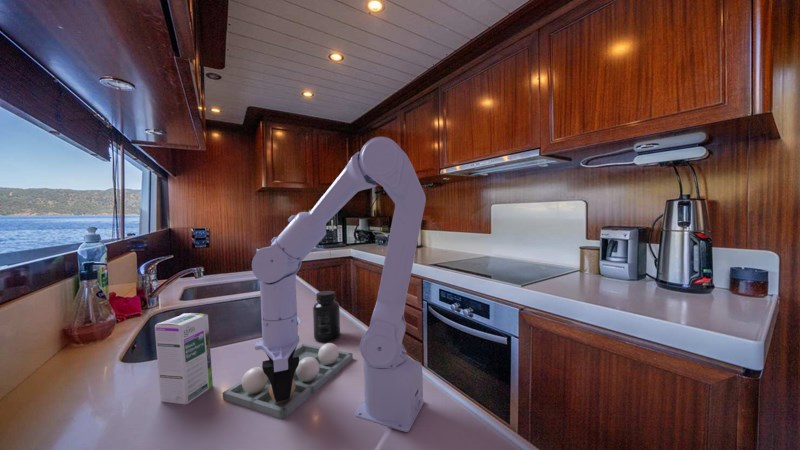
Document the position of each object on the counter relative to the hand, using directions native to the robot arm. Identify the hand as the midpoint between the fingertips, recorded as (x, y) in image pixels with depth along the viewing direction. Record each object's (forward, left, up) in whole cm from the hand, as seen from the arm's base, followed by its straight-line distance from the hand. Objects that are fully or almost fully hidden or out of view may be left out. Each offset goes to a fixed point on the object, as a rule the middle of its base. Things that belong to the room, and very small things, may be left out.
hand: (282, 391), depth 52 cm
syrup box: (+18, +5, -2) cm, 19 cm away
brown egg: (0, 0, -2) cm, 2 cm away
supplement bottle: (+9, -25, -2) cm, 27 cm away
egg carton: (+3, -7, -2) cm, 8 cm away
